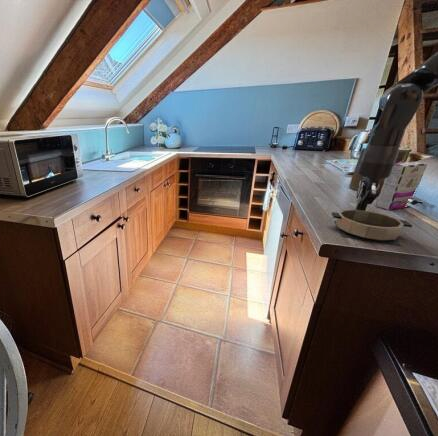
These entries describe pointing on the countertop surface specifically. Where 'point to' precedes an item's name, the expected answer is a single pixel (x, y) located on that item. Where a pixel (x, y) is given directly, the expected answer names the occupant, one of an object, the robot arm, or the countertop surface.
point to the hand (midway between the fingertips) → (358, 214)
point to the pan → (369, 224)
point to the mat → (344, 234)
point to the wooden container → (358, 178)
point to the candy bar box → (400, 185)
